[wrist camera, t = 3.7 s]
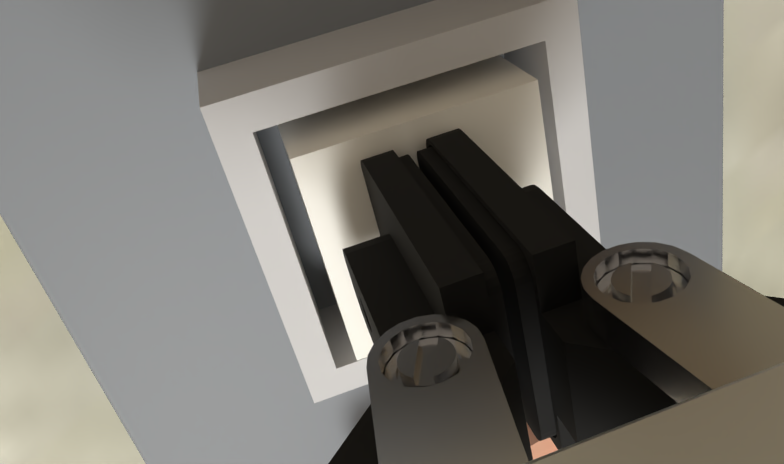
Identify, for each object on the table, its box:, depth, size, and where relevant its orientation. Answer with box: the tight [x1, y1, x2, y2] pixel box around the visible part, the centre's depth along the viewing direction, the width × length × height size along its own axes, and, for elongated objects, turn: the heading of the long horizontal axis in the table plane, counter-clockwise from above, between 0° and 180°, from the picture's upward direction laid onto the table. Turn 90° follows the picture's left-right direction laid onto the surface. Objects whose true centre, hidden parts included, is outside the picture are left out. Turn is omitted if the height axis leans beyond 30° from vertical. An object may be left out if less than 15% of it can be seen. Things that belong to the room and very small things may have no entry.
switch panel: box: [0, 0, 724, 464], centre depth 14 cm, size 24×14×4 cm, turn 13°
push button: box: [277, 55, 554, 360], centre depth 13 cm, size 4×4×2 cm
